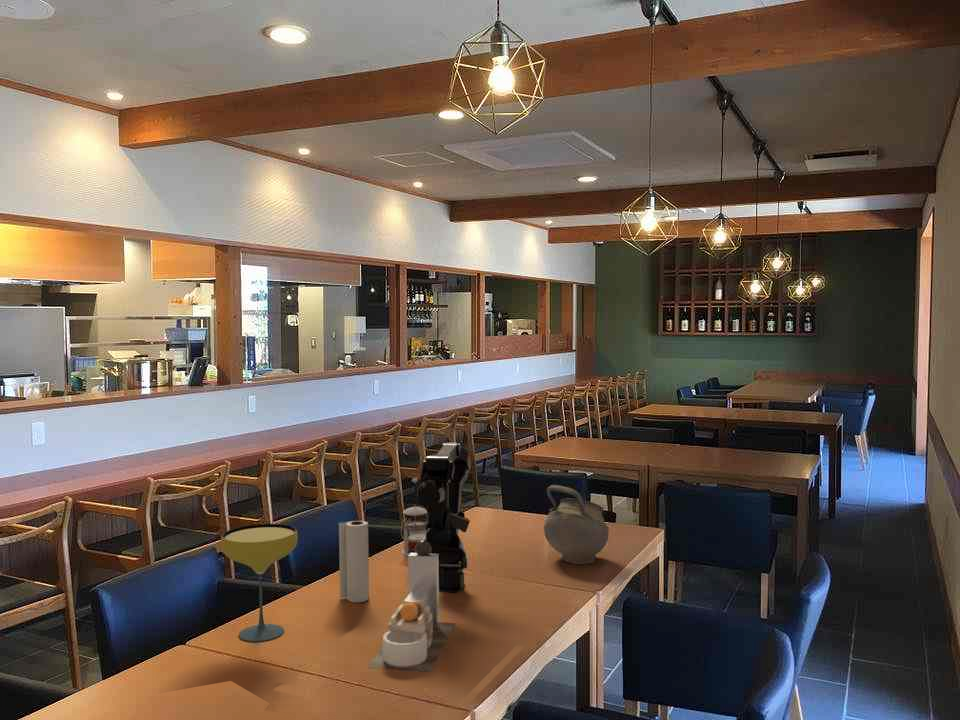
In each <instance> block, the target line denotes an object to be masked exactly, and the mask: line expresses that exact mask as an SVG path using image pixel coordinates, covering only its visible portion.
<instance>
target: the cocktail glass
mask: <svg viewBox="0 0 960 720" xmlns="http://www.w3.org/2000/svg"><path fill="white" fill-rule="evenodd" d="M298 540H299V537H298V531H297V528H295V527H294V526H292V525H287V524H282V523H259V524H258V523H257V524H249V525H244V526H238V527H234V528H231V529H228V530H227V531H225V532H223V533H222V534H221V538H220V548H221V551H222V553H223V554H224V556H226V557H227V558H229V559H230V560H232V561H234V562H237V563H239V564H243V565H246V566H248V567H250V568H251V569H252V570H253V571H254V572H255V574H257V575H258V582H259V583H258V584H259V589H258V591H259V593H258V594H259V597H258V598H259V615H258V616H259V618H258V624H256V625H251V626H248V627H245V628H244V629H242V630H240V631H239V633H238V638H239V639H241V640H242V641H244V642H248V641H249V642H250V643H261V641H263V642H268V641H271V640H272V641H273V640H274V639H277V638H279V637H281V636H282V635H283V634H284V633H285V628H284V627H283V626H282V625H278V624H273V623H272V624H271V623H265V620H264V612H263V611H264V610H263V609H264V608H263V606H264V605H263V580H262V579H263V574H264V573H266V571H267V569H268V568H269V567H270V566H271V565H272V564H274V563H275V562H277V561H280V560H281V559H283V558H285V557H287V556H288V555H289V554H291V553H292V552H293V550H295V548H296V547H297V544H298Z"/></svg>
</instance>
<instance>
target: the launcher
mask: <svg viewBox="0 0 960 720" xmlns="http://www.w3.org/2000/svg"><path fill="white" fill-rule="evenodd" d="M403 605H404V603H401V604H400V605H399V606H398V608H397V609H396V610H395V612H393V615H392V616H391V617H390V622H388V631H397V632H415V633H424V632H426V634H427V659H426V660H425V661H424V662H423V663H421V664H419V665H416V666H412V667H394V666H390V665H388V664H386V663H385V662H384V658H383V645H382V646H381V647H380V649H379V650H378V651H377V652H376V654H375V655H374V657H373V658H372V660H371V661H370V662H369V664H368V665H367V667H366V668H367V669H378V670H393V671H408V672H409V671H412V672H422V673H423V672H427V673H430V672H431V671H432V669H433V666H434V665H435V663H436V661H437V659H438V657H439V655H440V653H441V651H442V649H443V648H444V646H445V644H446V642H447V640H448V638H449V636H450V634H451V632H452V631H453V628H456V622H444V621H443V622H442V621H439V626H438V628H437V629H434V628H433V622H432V612H430V605H427V606H426V607H425V609H424V610H423V612H422V614H421V615H417V617H416V618H415V619H414V620H412V621H406V620H404V619H403V618H402V616H401V613H400V611H401V608H402V606H403Z"/></svg>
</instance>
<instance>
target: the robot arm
mask: <svg viewBox="0 0 960 720" xmlns="http://www.w3.org/2000/svg"><path fill="white" fill-rule="evenodd" d="M471 466H472V459H471V457H470V453H469V452H468V451H466V450H465V449H464V448H462V444H461V443H458V442H444V443H442V445H441V448H440V450H439V451H437V453H436V454H430V455H427V456H426V457H425V459H424V460H423V462H422V466H421V467H422V468H421V473H420V478H419V479H420V480H419V483H423V484H425V486H423V487H422V488H421V489H420V490H419V492H418V495H417V498H418V501H419V504H420V505H421V506H422V508H424V509H426V510H427V513H426V521H425V523H426V525H425V527H426V541H428V542H429V543H430V545H431V553H432V554H438V560H439V591H442V592H443V591H444V592H450V593H457V592H459V591H461V590H462V589H463V588H465V587H466V584H465V572H464V569H467V568H468V557H467V553H466V551H465V549H464V544H463V543H464V542H463V541H462V540H461V538H460V535H459V530H460V531H461V532H463V533H467V530H468V528H469V526H470V519H469V518H468V517H466V515H465V512H463V511H461V502H462V487H463V484H464V483H465V482H466V481H467V479H468V478H469V471H471Z"/></svg>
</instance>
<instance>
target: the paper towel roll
mask: <svg viewBox="0 0 960 720" xmlns="http://www.w3.org/2000/svg"><path fill="white" fill-rule="evenodd" d="M338 540H339V541H338V545H339V546H338V548H339V551H338V553H339V557H338V558H339V598H340V599H344V598H346V599H347V601H348V602H350V603H362V602H363V603H364V602H366V601H368V600H369V599H370V568H369V567H370V565H369V564H370V562H369V558H370V557H369V556H370V555H369V522H368V521H367V520H366V521H365V520H353V521H352V520H351V521H347V522H339V523H338Z"/></svg>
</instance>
